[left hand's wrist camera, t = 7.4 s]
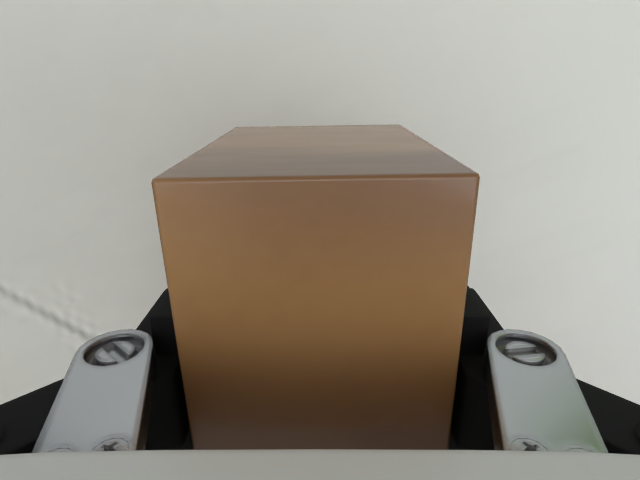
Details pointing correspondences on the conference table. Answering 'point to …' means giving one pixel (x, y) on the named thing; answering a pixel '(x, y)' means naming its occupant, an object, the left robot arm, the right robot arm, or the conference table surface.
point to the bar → (318, 286)
